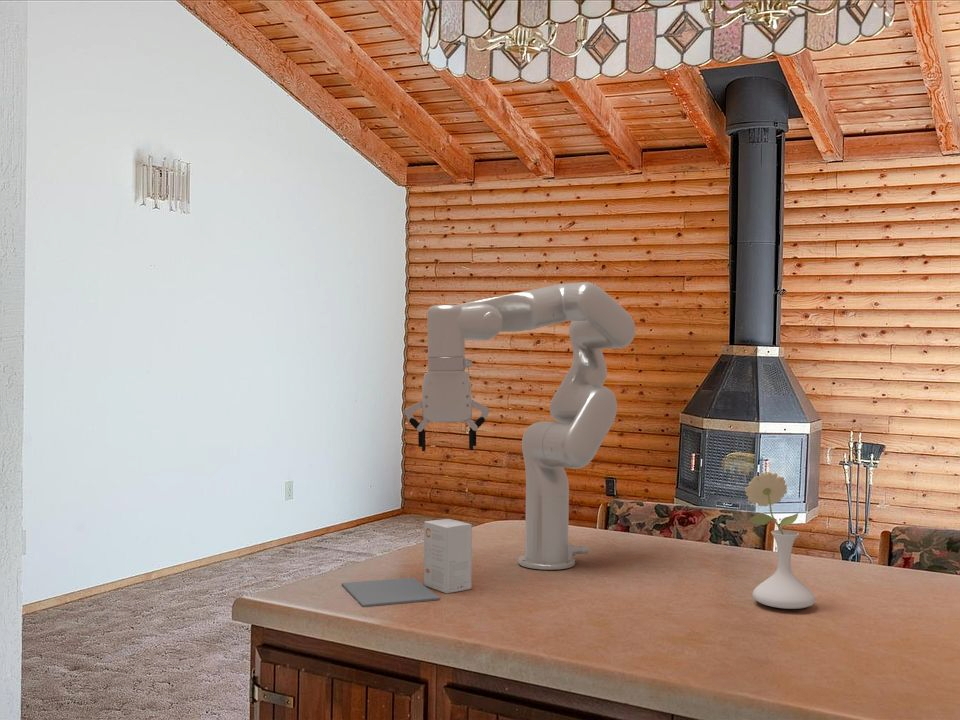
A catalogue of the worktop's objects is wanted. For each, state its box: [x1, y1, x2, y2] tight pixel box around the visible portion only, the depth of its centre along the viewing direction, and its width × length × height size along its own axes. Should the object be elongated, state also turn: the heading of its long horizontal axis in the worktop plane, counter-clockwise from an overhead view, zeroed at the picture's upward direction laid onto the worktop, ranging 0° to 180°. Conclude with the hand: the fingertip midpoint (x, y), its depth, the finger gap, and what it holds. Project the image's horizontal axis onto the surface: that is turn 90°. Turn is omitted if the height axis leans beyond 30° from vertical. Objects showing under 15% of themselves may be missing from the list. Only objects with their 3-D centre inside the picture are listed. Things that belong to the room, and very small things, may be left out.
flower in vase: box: [744, 471, 817, 610], centre depth 178 cm, size 13×11×25 cm
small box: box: [423, 518, 473, 594], centre depth 189 cm, size 8×6×13 cm
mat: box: [341, 576, 441, 608], centre depth 185 cm, size 15×17×1 cm
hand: (447, 450), depth 192 cm, fingers open, 9 cm apart
